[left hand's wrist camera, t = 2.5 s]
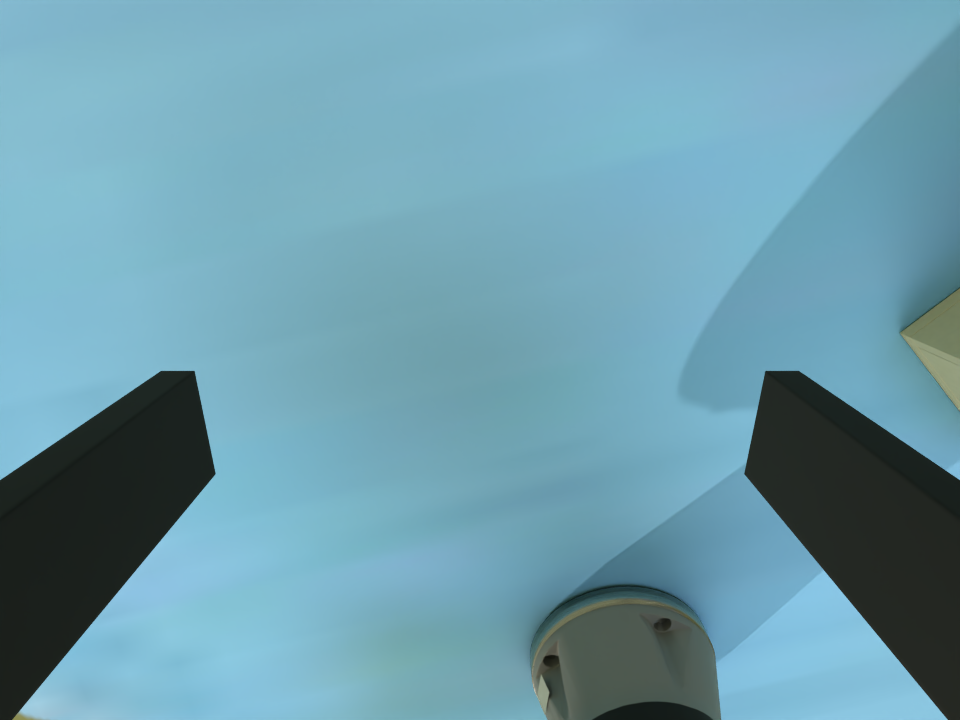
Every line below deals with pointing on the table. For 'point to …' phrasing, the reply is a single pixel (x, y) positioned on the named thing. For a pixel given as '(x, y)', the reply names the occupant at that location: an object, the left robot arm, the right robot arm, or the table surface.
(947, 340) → the tan cardboard carton
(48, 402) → the table surface
